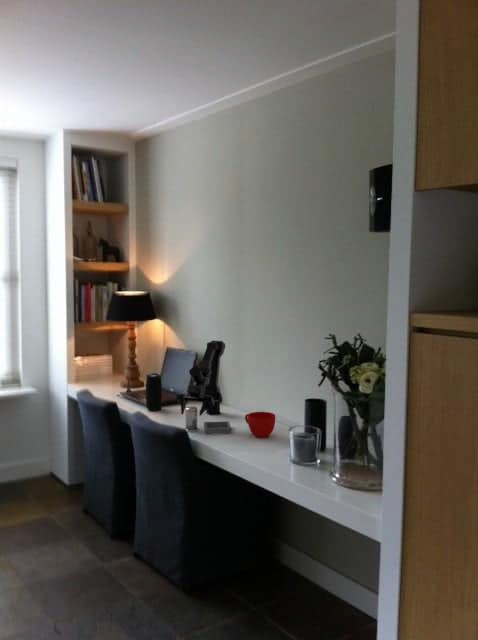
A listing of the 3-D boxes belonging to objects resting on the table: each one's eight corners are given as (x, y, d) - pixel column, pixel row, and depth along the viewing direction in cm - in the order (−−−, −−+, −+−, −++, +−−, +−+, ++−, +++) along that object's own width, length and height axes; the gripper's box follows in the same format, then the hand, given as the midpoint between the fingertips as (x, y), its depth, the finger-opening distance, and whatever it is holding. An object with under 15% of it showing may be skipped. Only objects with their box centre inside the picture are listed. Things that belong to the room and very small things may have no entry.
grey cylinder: (195, 427, 302) (194, 405, 301) (201, 430, 296) (201, 408, 295) (181, 429, 299) (181, 407, 298) (187, 432, 293) (187, 410, 292)
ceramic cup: (255, 428, 300) (255, 408, 299) (281, 436, 288) (281, 415, 287) (236, 434, 291) (236, 413, 290) (262, 441, 279) (262, 420, 278)
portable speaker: (144, 411, 334) (143, 376, 332) (148, 407, 343) (148, 372, 341) (159, 411, 333) (159, 376, 331) (163, 407, 342) (163, 373, 340)
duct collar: (203, 426, 303) (203, 421, 303) (228, 426, 304) (228, 421, 304) (205, 434, 291) (205, 428, 290) (231, 433, 292) (231, 428, 292)
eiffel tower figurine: (115, 396, 373) (114, 374, 372) (130, 394, 379) (130, 372, 378) (124, 400, 361) (124, 378, 360) (140, 398, 366) (140, 376, 365)
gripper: (176, 377, 302) (168, 404, 293) (212, 379, 297) (205, 407, 287) (182, 389, 310) (174, 416, 301) (217, 392, 305) (210, 419, 296)
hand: (190, 414), depth 296 cm, fingers open, 9 cm apart
